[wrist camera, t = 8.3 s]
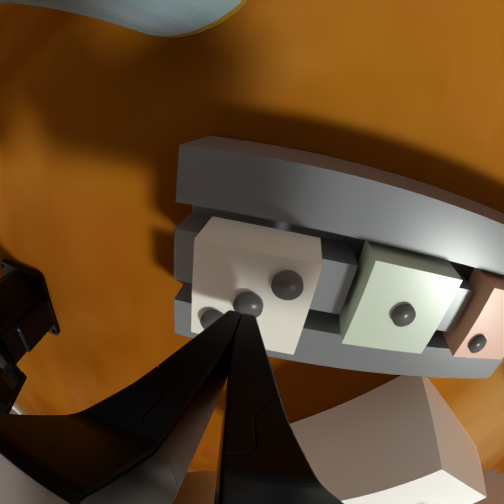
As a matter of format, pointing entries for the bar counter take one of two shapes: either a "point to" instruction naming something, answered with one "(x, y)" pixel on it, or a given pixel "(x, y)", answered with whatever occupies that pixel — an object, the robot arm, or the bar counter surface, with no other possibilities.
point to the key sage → (396, 298)
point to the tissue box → (393, 448)
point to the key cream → (255, 278)
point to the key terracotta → (480, 319)
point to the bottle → (150, 13)
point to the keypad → (337, 239)
